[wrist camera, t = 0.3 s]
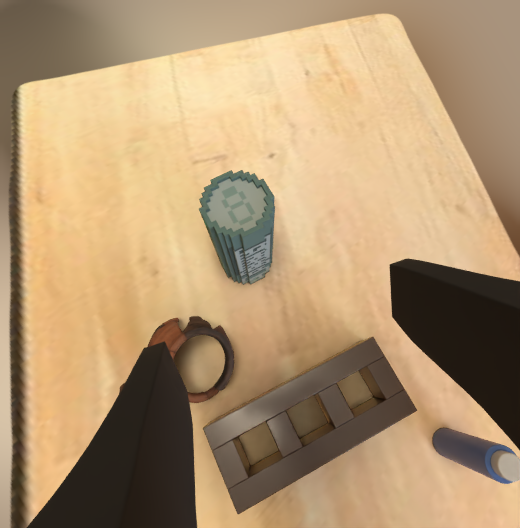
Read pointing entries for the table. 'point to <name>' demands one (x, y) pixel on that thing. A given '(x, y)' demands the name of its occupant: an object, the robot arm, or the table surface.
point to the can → (240, 224)
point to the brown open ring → (177, 338)
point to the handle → (478, 455)
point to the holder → (317, 442)
